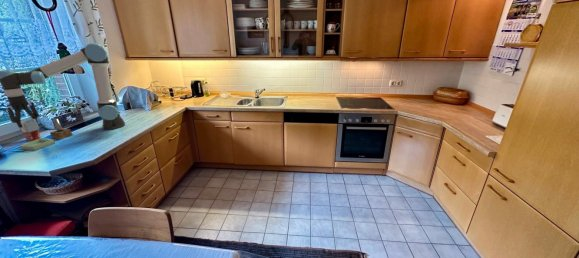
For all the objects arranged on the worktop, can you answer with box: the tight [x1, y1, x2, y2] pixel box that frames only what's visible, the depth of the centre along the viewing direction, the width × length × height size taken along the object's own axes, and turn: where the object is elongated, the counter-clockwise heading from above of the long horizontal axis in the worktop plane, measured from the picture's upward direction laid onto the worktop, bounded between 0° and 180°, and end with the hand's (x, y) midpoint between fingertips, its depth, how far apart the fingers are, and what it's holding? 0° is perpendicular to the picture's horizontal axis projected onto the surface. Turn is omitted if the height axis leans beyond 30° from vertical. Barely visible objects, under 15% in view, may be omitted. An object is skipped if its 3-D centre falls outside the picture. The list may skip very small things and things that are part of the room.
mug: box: [19, 120, 42, 142], centre depth 172 cm, size 13×9×14 cm
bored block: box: [49, 128, 73, 140], centre depth 176 cm, size 8×8×5 cm
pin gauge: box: [52, 118, 63, 132], centre depth 175 cm, size 3×3×14 cm
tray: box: [19, 137, 56, 152], centre depth 162 cm, size 12×12×3 cm
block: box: [22, 119, 40, 132], centre depth 157 cm, size 6×6×6 cm
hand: (30, 129), depth 158 cm, fingers closed on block, 6 cm apart
